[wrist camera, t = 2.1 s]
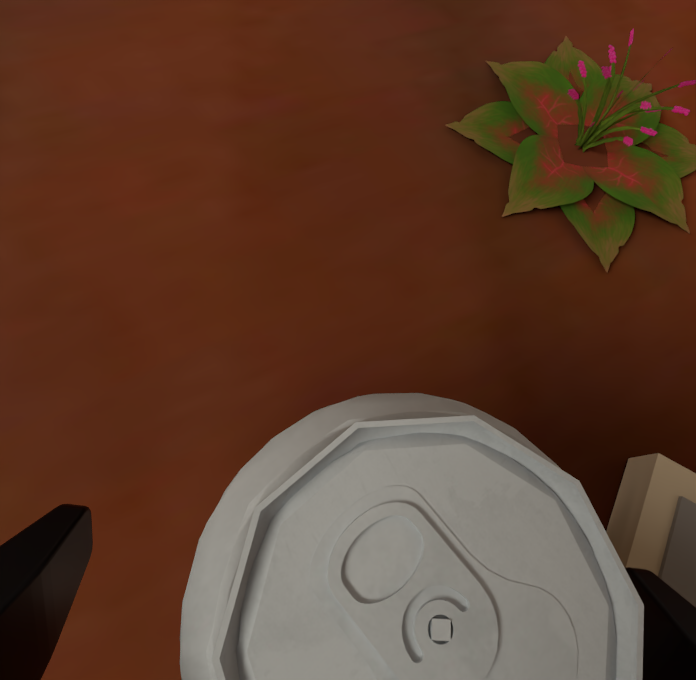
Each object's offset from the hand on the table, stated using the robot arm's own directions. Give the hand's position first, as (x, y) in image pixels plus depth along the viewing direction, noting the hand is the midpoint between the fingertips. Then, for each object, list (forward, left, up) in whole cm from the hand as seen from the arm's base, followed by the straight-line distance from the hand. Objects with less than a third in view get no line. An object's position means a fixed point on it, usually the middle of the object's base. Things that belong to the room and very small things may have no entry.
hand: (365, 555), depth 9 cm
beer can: (0, 0, -8) cm, 8 cm away
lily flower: (+12, -16, -9) cm, 21 cm away
